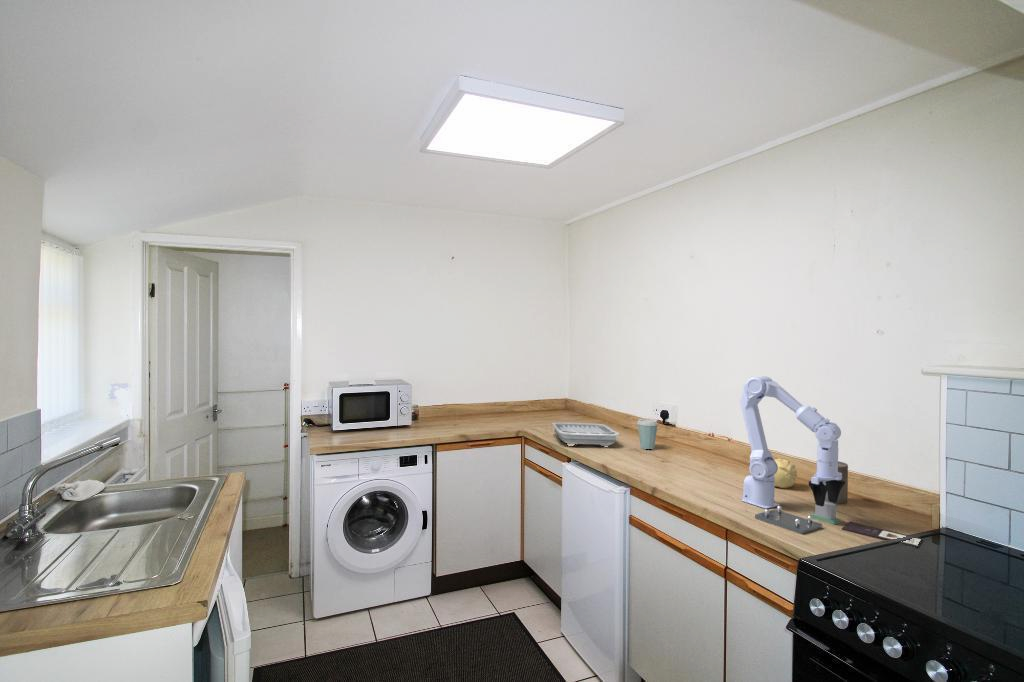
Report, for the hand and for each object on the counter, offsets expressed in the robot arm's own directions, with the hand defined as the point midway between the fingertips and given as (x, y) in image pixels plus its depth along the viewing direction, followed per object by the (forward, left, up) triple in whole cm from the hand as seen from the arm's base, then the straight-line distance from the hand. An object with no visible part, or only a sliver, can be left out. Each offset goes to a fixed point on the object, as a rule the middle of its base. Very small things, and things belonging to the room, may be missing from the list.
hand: (826, 503), depth 167 cm
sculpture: (-30, +24, -5) cm, 39 cm away
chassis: (-4, -14, -5) cm, 15 cm away
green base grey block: (0, 0, -5) cm, 5 cm away
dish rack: (-129, +7, -6) cm, 129 cm away
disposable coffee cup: (-101, +25, -5) cm, 104 cm away
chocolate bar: (+15, +2, -6) cm, 16 cm away
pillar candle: (-10, +23, -5) cm, 26 cm away
